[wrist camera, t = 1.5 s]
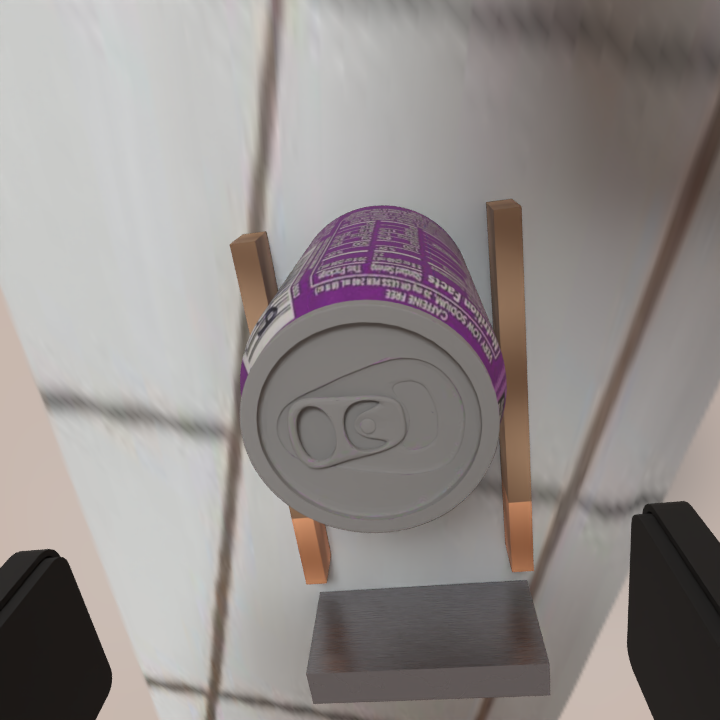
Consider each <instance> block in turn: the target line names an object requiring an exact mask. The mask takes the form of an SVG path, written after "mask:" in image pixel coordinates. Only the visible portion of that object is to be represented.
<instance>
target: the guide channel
mask: <svg viewBox="0 0 720 720" xmlns="http://www.w3.org/2000/svg"><path fill="white" fill-rule="evenodd" d="M486 208H487V226H488V243H489V261H490V279H491V297H492V314H493V331H494V334H495V336H496V339H497V341H498V344H499V347H500V350H501V352H502V356H503V360H504V365H505V371H506V381H507V393H506V403H505V408H504V413H503V417H502V420H501V423H500V430H499V439H500V457H501V475H502V492H503V510H504V528H505V544H506V548H507V552H508V557H509V561H510V565H511V569H512V572H522V571H534V564H533V534H532V504H531V475H530V445H529V415H528V386H527V356H526V327H525V297H524V267H523V238H522V208H521V206H520V205H519V204H518V203H516V202H515V201H514V200H513V199H508V200H500V201H492V202H486ZM230 248H231V252H232V257H233V261H234V266H235V270H236V274H237V279H238V283H239V288H240V292H241V296H242V301H243V305H244V310H245V314H246V319H247V323H248V327H249V332H250V335H251V333H252V331H253V329H254V327H255V325H256V323H257V322H258V320H259V318H260V317H261V315H262V314H263V312H264V311H265V309H266V308H267V307H268V305H269V304H270V302H271V301H272V299H273V298H274V296H275V295H276V293H277V292H278V288H277V283H276V278H275V273H274V268H273V263H272V258H271V253H270V248H269V243H268V239H267V234H266V232H258V233H250V234H243V235H241V236H240V237H239V238H238V239H236V240H235V241H234V242H232V243H231V244H230ZM289 509H290V513H291V518H292V522H293V526H294V531H295V535H296V540H297V544H298V548H299V553H300V557H301V562H302V566H303V571H304V575H305V579H306V584H322V583H327V577H328V570H329V564H330V558H331V553H330V548H329V543H328V538H327V533H326V528H325V524H322V523H320V522H317V521H315V520H313V519H310V518H308V517H306V516H304V515H303V514H301V513H299V512H298V511H296V510H294V509H293V508H291V507H290V506H289ZM306 675H307V679H308V683H309V687H310V691H311V695H312V699H313V703H314V704H321V703H349V702H377V701H405V700H432V699H460V698H488V697H516V696H543V695H550V671H549V661H548V657H547V653H546V649H545V646H544V642H543V638H542V634H541V631H540V627H539V623H538V620H537V616H536V612H535V608H534V605H533V601H532V597H531V593H530V590H529V586H528V582H527V580H525V581H508V582H491V583H474V584H456V585H439V586H422V587H405V588H388V589H371V590H354V591H336V592H320V596H319V602H318V608H317V614H316V620H315V626H314V632H313V638H312V643H311V649H310V655H309V661H308V667H307V673H306Z"/></svg>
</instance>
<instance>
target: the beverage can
mask: <svg viewBox="0 0 720 720" xmlns="http://www.w3.org/2000/svg"><path fill="white" fill-rule="evenodd" d="M240 387H241V403H240V427H241V433H242V438H243V442H244V446H245V449H246V451H247V454H248V456H249V459H250V461H251V463H252V465H253V466H254V468H255V470H256V471H257V473H258V475H259V476H260V477H261V479H262V480H263V481H264V483H265V484H266V485H267V486H268V487H269V488H270V490H271V491H272V492H273V493H274V494H275V495H276V496H277V497H279V498H280V499H281V500H282V501H283V502H285V503H286V504H287V505H289V506H290V507H291V508H293V509H294V510H296V511H298V512H299V513H301V514H303V515H304V516H306V517H308V518H310V519H313V520H315V521H317V522H320V523H322V524H325V525H328V526H331V527H334V528H338V529H342V530H348V531H354V532H364V533H383V532H393V531H400V530H405V529H409V528H413V527H416V526H419V525H422V524H425V523H427V522H430V521H432V520H434V519H436V518H438V517H440V516H442V515H444V514H445V513H447V512H449V511H450V510H452V509H453V508H454V507H456V506H457V505H458V504H460V503H461V502H462V501H463V500H464V499H465V498H466V497H467V496H468V495H470V494H471V492H472V491H473V490H474V489H475V488H476V487H477V485H478V484H479V483H480V481H481V480H482V478H483V477H484V475H485V474H486V472H487V470H488V468H489V466H490V464H491V462H492V459H493V457H494V454H495V451H496V448H497V443H498V438H499V430H500V423H501V420H502V417H503V413H504V408H505V403H506V393H507V381H506V371H505V365H504V360H503V356H502V352H501V350H500V347H499V344H498V341H497V339H496V336H495V334H494V331H493V329H492V326H491V324H490V322H489V319H488V317H487V314H486V312H485V310H484V307H483V305H482V302H481V300H480V297H479V295H478V293H477V290H476V288H475V285H474V283H473V281H472V278H471V276H470V273H469V271H468V269H467V266H466V264H465V261H464V259H463V257H462V254H461V252H460V250H459V249H458V247H457V245H456V244H455V242H454V241H453V240H452V238H451V237H450V236H449V235H448V234H447V233H446V231H444V230H443V229H442V228H441V227H440V226H439V225H438V224H436V223H435V222H434V221H432V220H431V219H429V218H427V217H426V216H424V215H422V214H420V213H417V212H415V211H412V210H409V209H406V208H401V207H396V206H370V207H364V208H360V209H357V210H354V211H351V212H349V213H346V214H344V215H342V216H340V217H339V218H337V219H335V220H334V221H332V222H331V223H330V224H328V225H327V226H326V227H325V228H324V229H323V230H322V231H321V232H320V233H319V234H318V235H317V236H316V237H315V238H314V240H313V241H312V242H311V244H310V245H309V247H308V248H307V250H306V251H305V253H304V254H303V256H302V257H301V258H300V260H299V261H298V263H297V264H296V266H295V267H294V269H293V270H292V272H291V273H290V274H289V276H288V277H287V279H286V280H285V282H284V283H283V285H282V286H281V288H280V289H279V291H278V292H277V293H276V295H275V296H274V298H273V299H272V301H271V302H270V304H269V305H268V307H267V308H266V309H265V311H264V312H263V314H262V315H261V317H260V318H259V320H258V322H257V323H256V325H255V327H254V329H253V331H252V333H251V335H250V337H249V340H248V343H247V345H246V348H245V352H244V355H243V360H242V365H241V374H240Z"/></svg>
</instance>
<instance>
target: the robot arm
mask: <svg viewBox="0 0 720 720" xmlns="http://www.w3.org/2000/svg"><path fill="white" fill-rule="evenodd" d="M627 633H628V634H627V648H628V655H629V660H630V663H631V666H632V669H633V672H634V674H635V676H636V678H637V681H638V683H639V686H640V688H641V690H642V693H643V695H644V697H645V700H646V702H647V704H648V707H649V709H650V711H651V714H652V716H653V718H654V720H720V542H719V541H718V540H717V539H716V537H715V536H714V535H713V533H712V532H711V531H710V530H709V528H708V527H707V526H706V524H705V523H704V522H703V520H702V519H701V518H700V517H699V515H698V514H697V513H696V511H695V510H694V509H693V507H692V506H691V505H690V504H689V503H688V502H685V501H680V502H667V503H654V504H647V505H645V506H644V509H643V514H637V515H634V516H633V518H632V523H631V551H630V578H629V606H628V632H627ZM111 684H112V672H111V668H110V665H109V663H108V661H107V658H106V656H105V653H104V650H103V648H102V646H101V643H100V640H99V638H98V635H97V633H96V631H95V628H94V626H93V623H92V620H91V618H90V615H89V613H88V611H87V608H86V606H85V603H84V601H83V598H82V596H81V593H80V590H79V588H78V586H77V583H76V580H75V578H74V576H73V573H72V570H71V568H70V566H69V563H68V562H67V560H66V559H65V558H63V557H60V556H59V554H58V553H57V552H56V551H55V550H51V549H45V550H31V551H20V552H18V553H15V554H14V555H12V556H11V557H10V558H9V559H8V560H7V561H6V562H5V563H4V565H3V566H2V567H1V568H0V720H96V718H97V716H98V714H99V712H100V710H101V708H102V706H103V704H104V702H105V700H106V698H107V696H108V694H109V691H110V688H111Z"/></svg>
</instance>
